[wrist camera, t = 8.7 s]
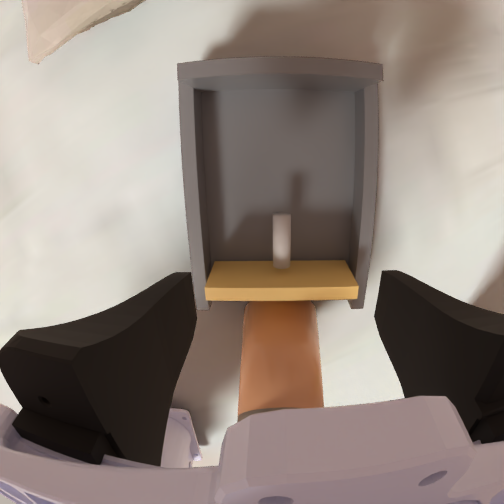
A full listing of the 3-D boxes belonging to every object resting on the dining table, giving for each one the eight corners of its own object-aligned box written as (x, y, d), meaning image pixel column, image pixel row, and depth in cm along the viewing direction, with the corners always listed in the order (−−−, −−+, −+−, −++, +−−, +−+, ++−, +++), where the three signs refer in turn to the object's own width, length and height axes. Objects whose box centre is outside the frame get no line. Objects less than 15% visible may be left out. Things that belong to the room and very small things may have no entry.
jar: (312, 330, 23) (318, 439, 17) (246, 332, 23) (241, 441, 17) (319, 291, 20) (331, 422, 14) (240, 292, 20) (231, 424, 14)
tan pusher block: (343, 271, 20) (357, 298, 17) (215, 272, 20) (205, 300, 17) (348, 207, 18) (365, 224, 15) (210, 208, 19) (198, 225, 16)
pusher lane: (353, 287, 22) (375, 336, 16) (204, 289, 22) (186, 338, 17) (362, 82, 16) (398, 66, 11) (190, 83, 17) (160, 66, 12)
